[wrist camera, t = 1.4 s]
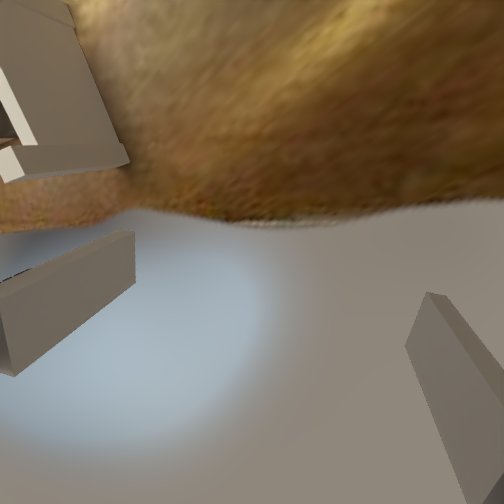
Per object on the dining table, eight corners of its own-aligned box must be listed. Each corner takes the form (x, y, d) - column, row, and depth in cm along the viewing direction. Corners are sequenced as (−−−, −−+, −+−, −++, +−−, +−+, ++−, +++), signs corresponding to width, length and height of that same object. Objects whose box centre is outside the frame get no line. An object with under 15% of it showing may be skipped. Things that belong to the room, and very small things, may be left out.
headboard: (10, 37, 36) (-179, -25, 23) (66, 3, 34) (-109, -90, 20) (76, 182, 41) (-46, 203, 28) (130, 162, 39) (25, 175, 25)
